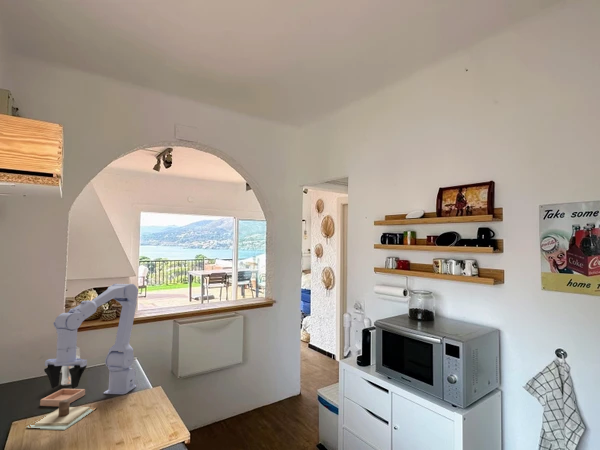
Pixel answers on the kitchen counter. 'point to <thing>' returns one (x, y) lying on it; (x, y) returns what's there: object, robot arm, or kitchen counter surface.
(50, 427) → the mat
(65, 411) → the lid
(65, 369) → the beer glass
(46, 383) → the kitchen counter surface
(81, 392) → the dish
